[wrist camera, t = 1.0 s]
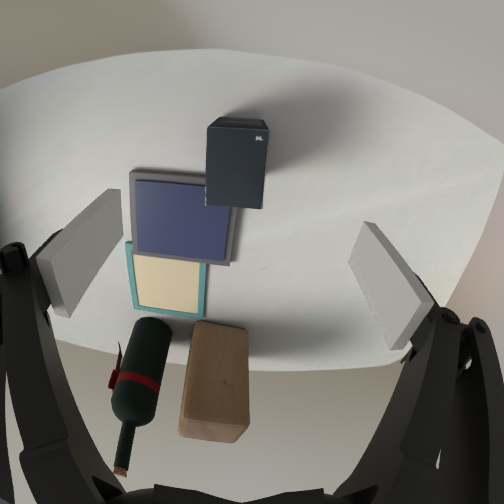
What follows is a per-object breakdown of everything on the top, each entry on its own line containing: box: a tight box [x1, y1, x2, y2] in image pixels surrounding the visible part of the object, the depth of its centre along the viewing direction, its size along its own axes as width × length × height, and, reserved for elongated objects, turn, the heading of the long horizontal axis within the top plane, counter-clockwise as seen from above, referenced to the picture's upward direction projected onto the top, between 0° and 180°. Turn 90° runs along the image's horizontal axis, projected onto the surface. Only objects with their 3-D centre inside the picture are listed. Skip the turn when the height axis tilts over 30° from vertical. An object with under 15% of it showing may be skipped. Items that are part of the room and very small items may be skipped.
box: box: [205, 117, 270, 209], centre depth 28 cm, size 8×6×11 cm
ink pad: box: [129, 170, 238, 266], centre depth 37 cm, size 15×13×1 cm
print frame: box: [125, 242, 206, 319], centre depth 44 cm, size 13×14×1 cm
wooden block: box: [178, 321, 250, 443], centre depth 43 cm, size 10×10×20 cm
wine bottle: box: [108, 317, 172, 477], centre depth 37 cm, size 8×10×30 cm
